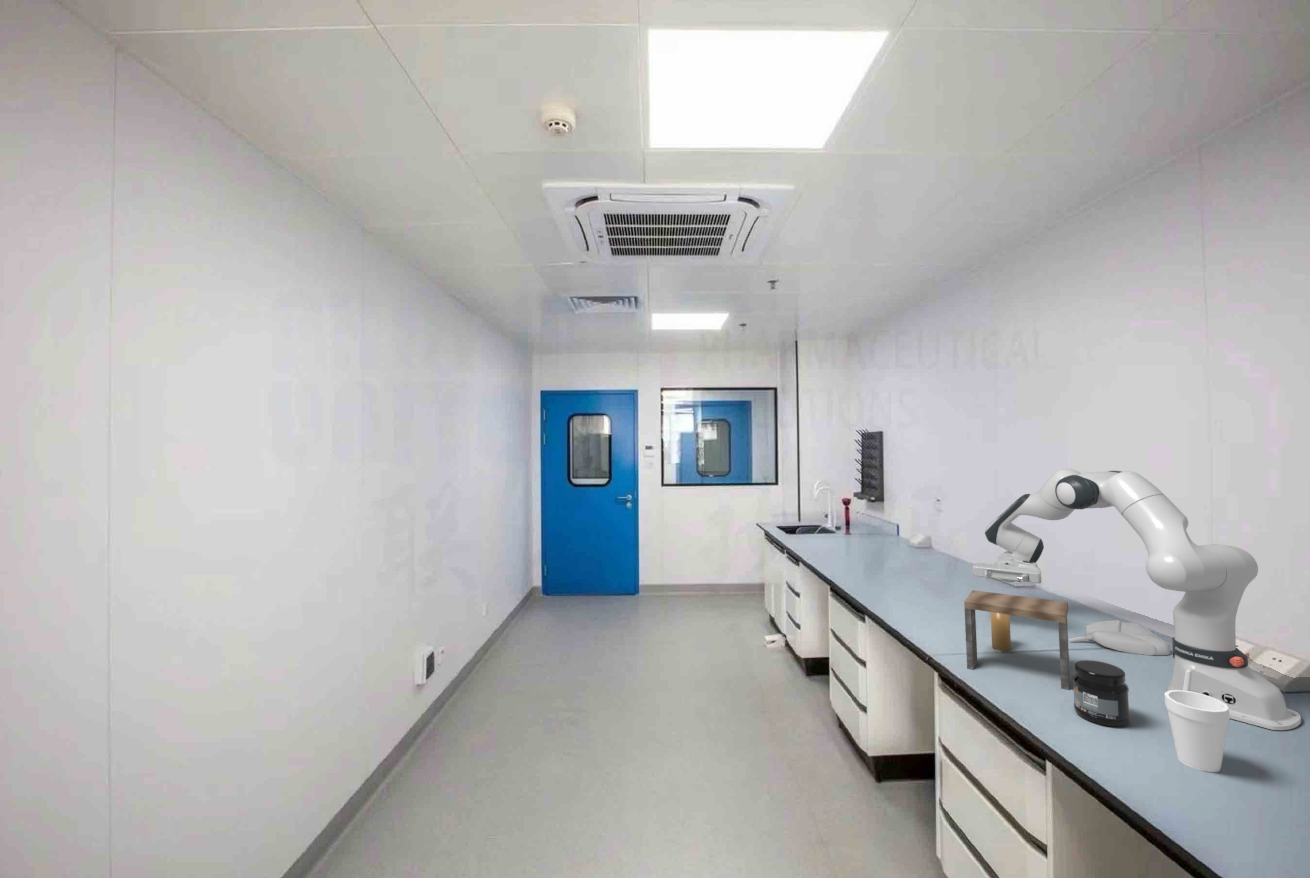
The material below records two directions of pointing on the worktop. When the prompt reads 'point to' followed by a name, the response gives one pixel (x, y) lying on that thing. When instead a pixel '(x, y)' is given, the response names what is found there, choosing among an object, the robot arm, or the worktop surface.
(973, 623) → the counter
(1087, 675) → the supplement container
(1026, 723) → the worktop surface
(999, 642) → the amber bottle
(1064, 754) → the worktop surface
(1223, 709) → the foam cup
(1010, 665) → the worktop surface
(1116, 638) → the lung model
